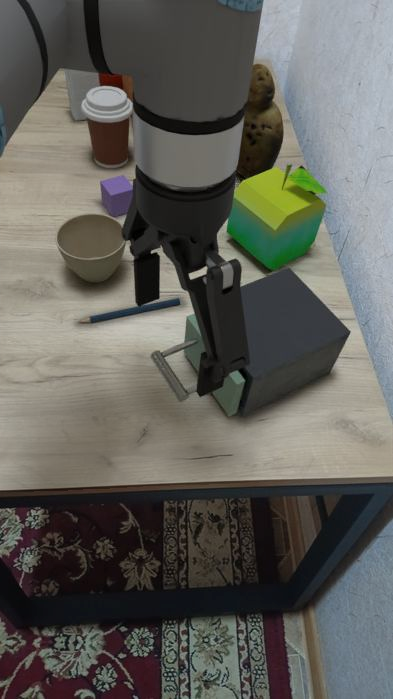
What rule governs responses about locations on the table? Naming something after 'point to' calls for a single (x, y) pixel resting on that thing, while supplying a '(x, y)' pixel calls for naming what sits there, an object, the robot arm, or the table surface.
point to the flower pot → (91, 245)
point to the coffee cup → (108, 124)
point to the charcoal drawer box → (286, 338)
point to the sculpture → (260, 126)
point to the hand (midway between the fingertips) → (176, 342)
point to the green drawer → (193, 349)
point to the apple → (277, 215)
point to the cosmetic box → (79, 89)
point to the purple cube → (116, 195)
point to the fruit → (111, 80)
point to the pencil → (131, 311)
